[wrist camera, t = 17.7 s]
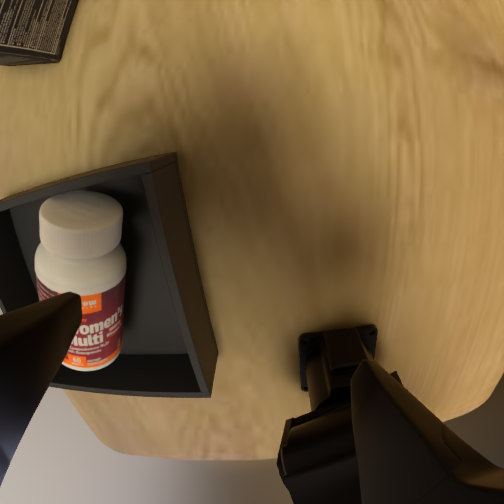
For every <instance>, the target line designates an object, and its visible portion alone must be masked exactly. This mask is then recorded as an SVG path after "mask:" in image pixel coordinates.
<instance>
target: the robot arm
mask: <svg viewBox="0 0 504 504" xmlns="http://www.w3.org/2000/svg"><path fill="white" fill-rule="evenodd" d="M81 322H82V302H81V296H80V295H79V294H76V293H73V292H70V291H69V292H65V293H62V294H59V295H57V296H54V297H51V298H48V299H45V300H42V301H39V302H36V303H33V304H31V305H28V306H25V307H22V308H19V309H16V310H13V311H11V312H8V313H5V314H3V315H0V486H1V483H2V481H3V478H4V476H5V474H6V471H7V469H8V467H9V465H10V461H11V459H12V457H13V455H14V453H15V451H16V449H17V446H18V444H19V442H20V440H21V438H22V436H23V434H24V432H25V430H26V428H27V426H28V424H29V422H30V420H31V418H32V416H33V414H34V413H35V410H36V409H37V407H38V405H39V403H40V401H41V399H42V397H43V396H44V394H45V392H46V390H47V389H48V387H49V385H50V383H51V381H52V380H53V378H54V376H55V374H56V373H57V371H58V369H59V368H60V366H61V364H62V362H63V360H64V359H65V356H66V354H67V352H68V350H69V348H70V346H71V343H72V341H73V339H74V337H75V335H76V333H77V331H78V328H79V326H80V324H81ZM371 330H373V331H372V332H370V331H371ZM377 332H378V331H377V328H376V327H375V326H374V325H367V326H361V327H354V328H348V329H341V330H334V331H326V332H318V333H310V334H303V335H301V336H300V337H299V339H298V341H299V359H300V378H301V389H302V391H305V392H307V391H309V397H310V404H311V411H312V412H309V413H307V414H304V415H302V416H299V417H297V418H291V419H288V420H286V423H285V427H284V432H283V436H282V440H281V445H280V449H279V453H278V460H277V467H278V469H279V474H280V476H281V479H282V481H283V483H284V485H285V486H286V488H287V489H288V490H289V492H290V495H291V498H292V500H293V503H294V504H504V469H503V468H500V467H498V466H496V465H494V464H493V463H491V462H490V461H489V460H487V459H486V458H485V457H483V456H482V455H481V454H480V453H478V452H477V451H476V450H474V449H473V448H472V447H471V446H469V445H468V444H467V443H465V442H464V441H463V440H462V439H461V438H459V437H458V436H457V435H456V434H455V433H454V432H453V431H451V430H450V429H449V428H448V427H447V426H446V425H445V424H443V423H442V421H440V420H439V419H438V418H437V417H436V416H435V415H434V414H433V413H432V412H431V411H430V410H428V409H427V408H426V407H425V406H424V405H423V404H422V403H421V402H420V401H419V400H417V399H416V398H415V397H414V396H413V395H412V394H411V393H410V392H409V391H408V390H406V389H405V388H404V387H403V385H402V382H401V380H400V378H399V376H398V374H397V371H394V372H393V373H391V374H389V373H388V372H387V371H386V370H385V369H383V368H382V367H381V366H380V365H379V364H378V363H377V362H376V361H374V356H375V348H376V340H377ZM303 340H307V341H305V342H304V341H303ZM306 386H307V387H306Z"/></svg>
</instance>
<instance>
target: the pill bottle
mask: <svg viewBox="0 0 504 504" xmlns="http://www.w3.org/2000/svg"><path fill="white" fill-rule="evenodd" d="M122 222H123V209H122V206H121V204H120V203H119V202H118V201H117V200H115V199H114V198H112V197H110V196H108V195H105V194H102V193H98V192H94V191H83V190H79V191H68V192H65V193H61V194H57V195H54V196H52V197H50V198H48V199H47V200H46V201H45V202H44V203H43V204H42V205H41V207H40V210H39V224H40V231H39V232H40V240H41V243H40V244H39V246H38V248H37V250H36V253H35V274H36V281H37V288H38V295H39V301H42V300H45V299H48V298H51V297H54V296H57V295H59V294H62V293H65V292H69V291H70V292H73V293H76V294H79V295H80V296H81V302H82V322H81V324H80V326H79V328H78V331H77V333H76V335H75V337H74V339H73V341H72V343H71V346H70V348H69V350H68V352H67V354H66V356H65V359H64V360H63V362H62V364H63V365H65V366H67V367H69V368H71V369H74V370H79V371H94V370H98V369H101V368H104V367H106V366H108V365H109V364H111V363H112V362H113V361H114V360H115V359H116V358H117V357H118V355H119V353H120V351H121V348H122V343H123V320H124V295H125V282H126V269H127V267H126V254H125V251H124V249H123V247H122V245H121V244H120V240H121V235H122Z"/></svg>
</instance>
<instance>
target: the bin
mask: <svg viewBox="0 0 504 504" xmlns="http://www.w3.org/2000/svg"><path fill="white" fill-rule="evenodd" d="M79 190H83V191H94V192H98V193H102V194H105V195H108V196H110V197H112V198H114V199H115V200H117V201H118V202H119V203H120V204H121V206H122V209H123V222H122V235H121V240H120V244H121V245H122V247H123V249H124V251H125V254H126V267H127V269H126V282H125V295H124V320H123V343H122V348H121V351H120V353H119V355H118V357H117V358H116V359H115V360H114V361H113V362H112V363H111V364H109V365H108V366H106V367H104V368H101V369H98V370H94V371H79V370H74V369H71V368H69V367H67V366H65V365H63V364H61V366H60V368H59V369H58V371H57V373H56V374H55V376H54V378H53V380H52V381H51V383H50V385H49V386H50V387H56V388H62V389H69V390H77V391H85V392H93V393H103V394H114V395H127V396H143V397H170V398H210V397H211V393H212V387H213V381H214V375H215V369H216V363H217V357H218V350H217V346H216V342H215V338H214V334H213V330H212V326H211V322H210V318H209V313H208V309H207V305H206V300H205V296H204V292H203V287H202V283H201V278H200V274H199V269H198V265H197V260H196V255H195V251H194V246H193V241H192V236H191V231H190V226H189V221H188V216H187V211H186V205H185V200H184V195H183V189H182V184H181V178H180V172H179V167H178V161H177V155H176V152H171V153H166V154H161V155H156V156H151V157H147V158H142V159H138V160H133V161H129V162H124V163H120V164H116V165H112V166H108V167H104V168H100V169H96V170H92V171H89V172H85V173H81V174H78V175H74V176H71V177H67V178H64V179H60V180H57V181H54V182H50V183H47V184H44V185H41V186H38V187H35V188H32V189H29V190H26V191H23V192H20V193H17V194H14V195H11V196H9V197H6V198H4V199H1V200H0V308H1V310H2V312H3V314H5V313H8V312H11V311H13V310H16V309H19V308H22V307H25V306H28V305H31V304H33V303H36V302H39V295H38V288H37V281H36V274H35V253H36V250H37V248H38V246H39V244H40V243H41V240H40V232H39V231H40V224H39V210H40V207H41V205H42V204H43V203H44V202H45V201H46V200H47V199H48V198H50V197H52V196H54V195H57V194H61V193H65V192H68V191H79Z"/></svg>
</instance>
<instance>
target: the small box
mask: <svg viewBox="0 0 504 504" xmlns="http://www.w3.org/2000/svg"><path fill="white" fill-rule="evenodd" d="M76 3H77V0H0V65H5V66H17V65H28V64H41V63H56V62H58V61H59V60H60V57H61V53H62V49H63V45H64V42H65V38H66V34H67V31H68V28H69V24H70V21H71V18H72V15H73V12H74V9H75V6H76Z"/></svg>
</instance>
